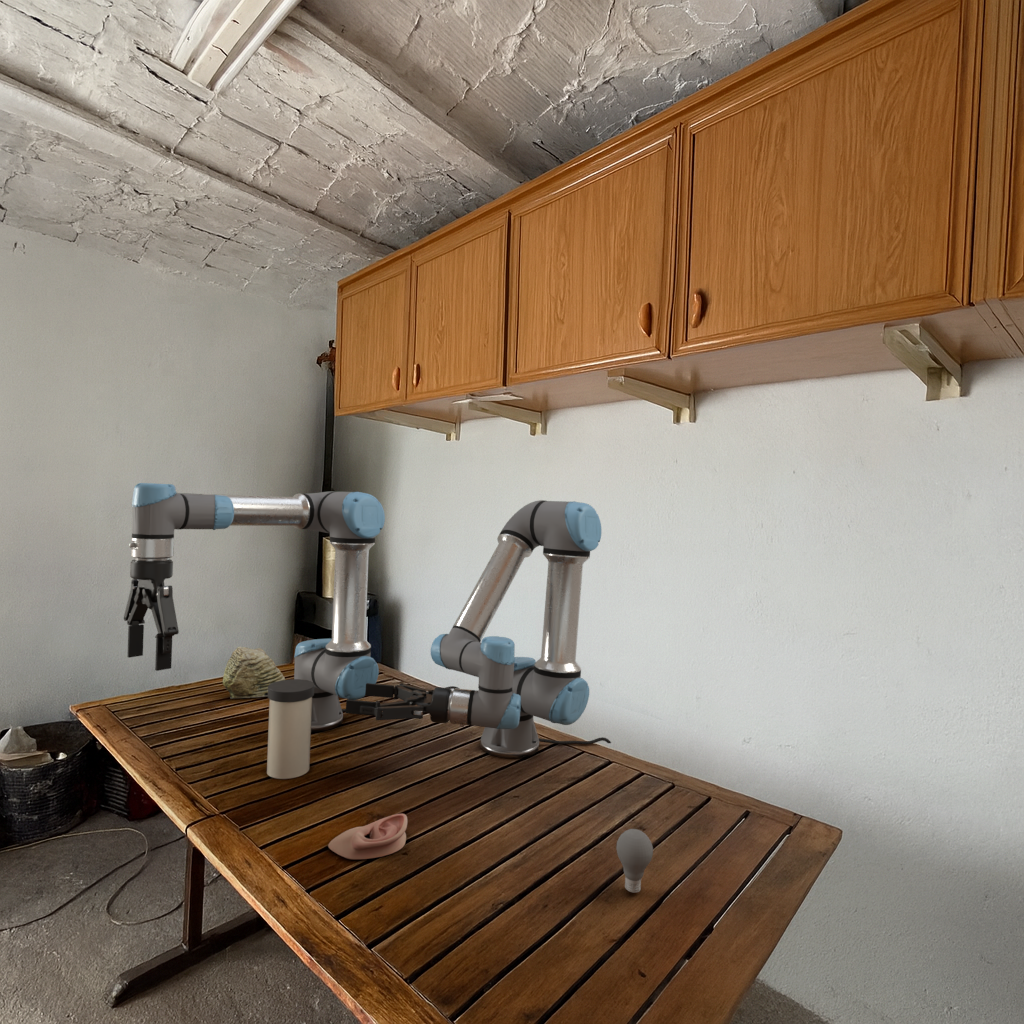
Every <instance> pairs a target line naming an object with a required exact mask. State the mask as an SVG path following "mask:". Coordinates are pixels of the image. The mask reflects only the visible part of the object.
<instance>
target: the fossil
mask: <svg viewBox="0 0 1024 1024" xmlns="http://www.w3.org/2000/svg"><path fill="white" fill-rule="evenodd" d="M222 676H223V677H222V685H223V687H224V688H225V690H226V691H228V693H229V698H230V699H250V698H264V697H268V686H269V685H270V684H271V683H274V682H277V681H281V680H286V678H285V676H284V674H283V673H282V672H281V669H279V668H278V667H277V665H276V663H275V662H274V660H273V659H272V658H271V657H270V656H269V655H268V654H267V653H266V652H265V650H264V649H263V648H260V647H258V648H251V647H247V646H246V647H245V646H238V647H237V648H236V649H235V650H233V651H232V653H231V656H230V657H229V659H228V660H227V663H226V666H225V668H224V671H223V675H222Z"/></svg>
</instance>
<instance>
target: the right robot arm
mask: <svg viewBox="0 0 1024 1024" xmlns="http://www.w3.org/2000/svg"><path fill="white" fill-rule="evenodd" d="M601 539H602V522H601V519H600V516H599V514H598V512H597V510H596V509H595V508H594V507H593V506H592V505H591V504H589V503H586V502H579V501H575V500H574V501H566V500H565V501H563V500H561V501H560V500H543V499H540V500H539V499H538V500H534V501H532V502H529V503H527V504H525V505H523V506H522V507H521V508H520V509H518V510H517V511H516V512H515V513H514V514H513V515H512V516H511V517H510V518H509V519H508V521H507V522H506V523H505V525H504V526H503V527H502V529H501V531H499V534H498V536H497V539H496V540H497V543H498V544H497V546H496V548H495V550H494V552H493V553H492V555H491V556H490V559H489V561H488V562H487V564H486V566H485V568H484V569H483V571H482V572H481V575H480V577H479V578H478V580H477V582H476V584H475V585H474V587H473V589H472V591H471V592H470V594H469V596H468V598H467V600H466V602H465V603H464V605H463V607H462V609H461V611H460V613H459V615H458V616H457V618H456V620H455V622H454V623H453V625H452V627H451V629H450V631H449V633H441V634H439V635H438V636H437V637H435V638H434V639H433V642H432V643H431V646H430V657H431V660H432V661H433V662H434V664H436V665H438V666H440V667H442V668H444V669H446V670H451V671H456V672H459V673H464V674H466V675H470V676H472V677H475V678H478V686H477V688H478V690H475V689H468V688H460V689H457V688H455V689H450V688H445V687H441V686H436V687H434V689H427V688H423V687H420V686H416V685H411V684H407V683H403V682H401V683H399V684H396V685H392V684H382V683H380V684H379V683H376V684H371V683H367V684H366V690H365V696H366V697H375V698H376V697H377V698H386V699H387V698H389V699H390V698H391V699H393V700H397V701H392V702H391V701H390V702H383V703H381V701H379V700H375V701H369V700H360V699H357V700H349V699H345V700H346V701H345V709H346V712H345V714H349V715H362V716H373V717H375V720H376V721H391V720H392V721H393V720H408V719H410V720H411V719H414V720H415V719H417V720H421V719H422V720H423V718H424V715H425V714H429V718H430V721H431V723H437V724H447V723H449V722H450V724H451V725H459V727H461V728H464V727H465V726H471V727H472V726H473V727H480V728H484V729H483V731H482V733H481V736H480V748H481V750H482V751H483V752H485V753H486V754H488V755H490V756H494V757H498V758H503V759H522V758H527V757H531V756H533V755H535V754H537V753H538V752H539V750H540V743H548V744H554V745H586V746H587V745H592V744H596V743H600V742H606V744H612V741H611V740H609V738H607V737H598V738H594V739H592V740H554V739H548V738H539V734H538V732H537V728H536V727H537V726H536V724H535V721H534V717H536V718H539V719H542V720H544V721H548V722H550V723H552V724H559V725H562V726H570V725H572V724H575V723H576V722H577V721H578V720H579V719H580V718H581V717H582V715H583V714H584V712H585V711H586V708H587V705H588V703H589V698H590V686H589V683H588V681H587V680H586V679H584V678H582V677H581V676H582V667H581V665H580V664H579V663H578V662H577V660H576V659H577V650H578V649H577V648H578V647H577V645H578V635H579V620H580V609H581V597H582V596H581V594H582V583H583V568H584V564H585V563H586V562H587V561H588V560H589V559H590V557H591V552H592V551H594V550H596V549H597V548H598V547H599V543H600V542H601ZM539 546H540V547H542V548H543V549H542V555H543V556H544V558H545V559H546V560H547V563H548V564H547V573H546V574H547V576H546V588H545V599H544V600H545V601H544V615H543V625H542V626H543V627H542V640H541V651H540V653H541V654H540V657H539V659H537V660H536V659H534V658H533V657H529V656H515V653H516V652H515V648H516V647H515V646H516V645H515V641H514V640H513V639H511V638H510V637H506V636H498V635H490V636H485V634H486V632H487V630H488V629H489V626H490V625H491V622H492V621H493V619H494V618H495V615H496V613H497V611H498V609H499V608H500V605H501V604H502V602H503V600H504V598H505V596H506V594H507V592H508V590H509V589H510V587H511V585H512V583H513V581H514V579H515V577H516V575H517V573H518V572H519V570H520V567H521V565H523V562H524V560H525V559H526V558H529V557H530V556H531V555H532V553H533V551H534V550H535V549H536V548H537V547H539ZM484 636H485V637H484ZM365 696H364V697H365ZM398 700H399V701H398Z"/></svg>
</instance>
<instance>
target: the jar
mask: <svg viewBox="0 0 1024 1024" xmlns="http://www.w3.org/2000/svg"><path fill="white" fill-rule="evenodd" d="M311 717H312V697H311V698H309V699H306V700H302V701H296V702H277V701H273V700H270V699H269V698H268V725H267V727H268V728H267V753H266V774H267V776H269V778H274V779H276V780H277V779H278V780H288V779H289V780H290V779H295V778H298V777H302V776H304V775H305V774H307V773H308V772H309V771H310V766H311V741H312V732H311Z"/></svg>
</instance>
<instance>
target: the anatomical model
mask: <svg viewBox="0 0 1024 1024" xmlns="http://www.w3.org/2000/svg"><path fill="white" fill-rule="evenodd" d="M407 827H408V816H407V815H406V814H405V813H396V814H392V815H388V816H385V817H383V818H380V819H377V820H376V821H373V822H371V823H368V824H366V825H363V826H356V827H352V828H350V829H347V830H345V831H343V832H341V833H340V834H338V835H337V836H335V837H334V838H333V839H331V841H329V843H328V845H327V847H328V849H329V850H331V851H332V852H334V853H335V854H337V855H338V856H341V857H342V858H345V859H347V860H355V861H356V860H367V859H369V860H370V859H375V858H381V857H385V856H388V855H391V854H395V853H396V852H398V851H400V850H401V849H403V847H404V846H405V844H406V841H407V833H406V830H407Z"/></svg>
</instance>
